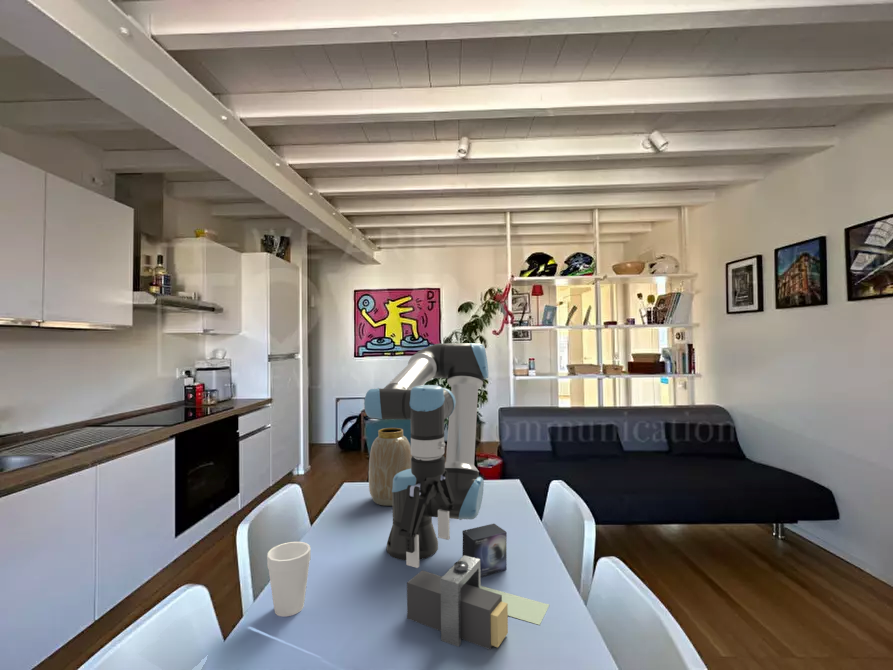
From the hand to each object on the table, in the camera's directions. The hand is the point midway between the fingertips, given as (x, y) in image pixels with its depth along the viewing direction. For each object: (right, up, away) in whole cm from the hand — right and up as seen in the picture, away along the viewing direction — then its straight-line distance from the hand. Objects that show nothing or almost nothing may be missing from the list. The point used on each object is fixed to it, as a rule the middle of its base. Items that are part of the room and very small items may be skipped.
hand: (429, 551), depth 96 cm
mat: (+18, -14, +3) cm, 23 cm away
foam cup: (-32, -15, +3) cm, 36 cm away
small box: (+14, -15, +19) cm, 28 cm away
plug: (+5, -14, -4) cm, 16 cm away
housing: (+7, -14, -5) cm, 16 cm away
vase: (-18, -16, +72) cm, 76 cm away
